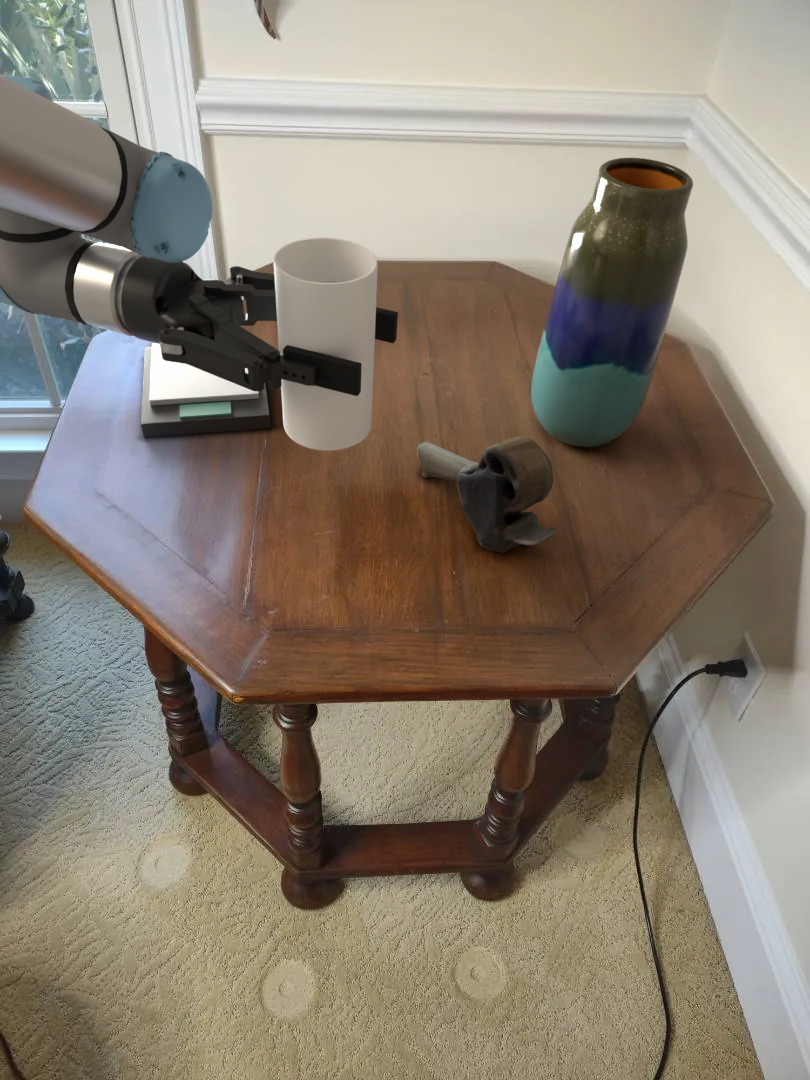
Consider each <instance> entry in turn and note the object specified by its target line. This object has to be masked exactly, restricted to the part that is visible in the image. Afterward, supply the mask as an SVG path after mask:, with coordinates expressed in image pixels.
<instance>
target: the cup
mask: <svg viewBox="0 0 810 1080" xmlns="http://www.w3.org/2000/svg"><path fill="white" fill-rule="evenodd" d="M378 267H379V266H378V259H377V256H376V255H375V253H374V252H373V251H372V250H371V249H369V248H368V247H366V246H364V245H362V244H360V243H358V242H355V241H352V240H348V239H343V238H339V237H338V238H337V237H308V238H301V239H298V240H295V241H292V242H289V243H286V244H285V245H283V246H281V247H280V248H279V249H278V250H277V251H276V252H275V254H274V257H273V274H274V277H275V294H276V310H277V321H276V325H277V342H278V350H279V351H280V355H282V356H283V349H284V348H285V346H286V345H289V346H293V347H297V348H302V349H305V350H309V351H314V352H318V353H322V354H326V355H330V356H334V357H338V358H343V359H347V360H351V361H355V362H359V363H362V365H361V392H360V393H359V395H358V396H354V395H350V394H346V393H342V392H338V391H334V390H330V389H326V388H322V387H318V386H307V385H303V384H299V383H297V382H296V383H295V382H291V381H287V380H283V379H282V387H281V388H280V391H281V392H280V393H281V406H282V407H281V408H282V424H283V429H284V431H285V433H286V435H287V436H288V437H289V439H291V440H292V441H293V442H294V443H296V444H297V445H300V446H302V447H305V448H307V449H311V450H316V451H326V452H327V451H330V452H331V451H340V450H345V449H348V448H351V447H354V446H356V445H357V444H359V443H361V442H362V441H364V440H365V439H366V438H367V437H368V435H369V434H370V433H371V430H372V420H373V419H372V418H373V396H374V395H373V394H374V391H373V390H374V369H375V368H374V366H375V345H376V344H375V341H376V339H375V321H376V307H377V296H378V295H377V292H378V291H377V290H378Z"/></svg>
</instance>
